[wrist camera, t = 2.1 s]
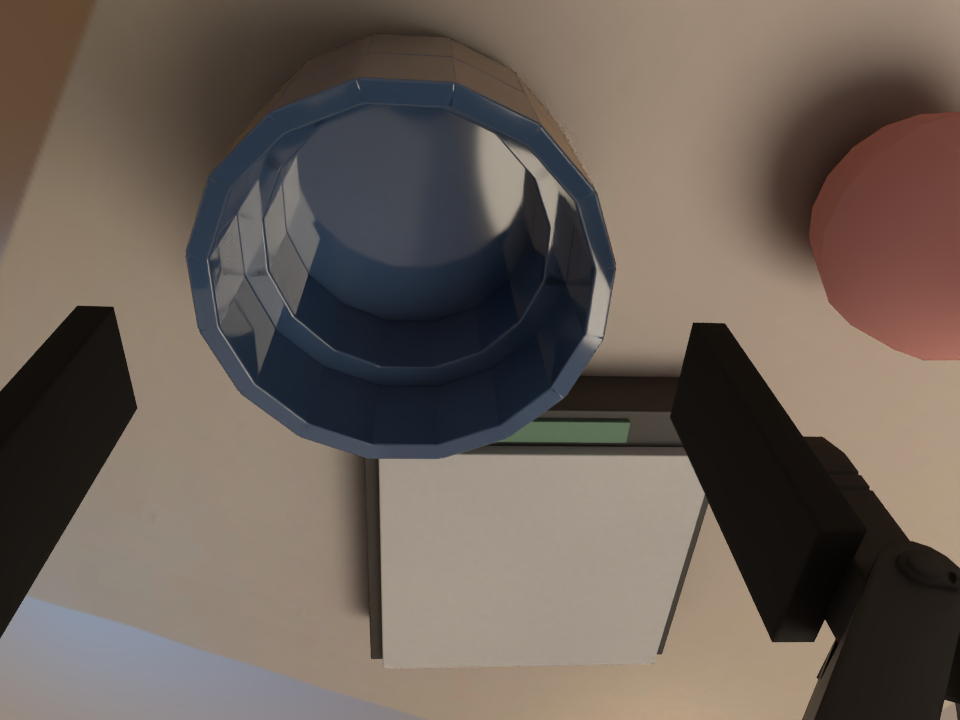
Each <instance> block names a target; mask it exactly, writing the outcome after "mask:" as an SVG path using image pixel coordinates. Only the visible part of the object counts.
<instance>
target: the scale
mask: <svg viewBox="0 0 960 720" xmlns="http://www.w3.org/2000/svg"><path fill="white" fill-rule="evenodd" d="M678 382H679V378H634V377H579V378H578V379H577V381H576V382H575V384H574V385H573V387H572V388H571V390H570V391H569V393H568V394H567V396H566V397H564V398H563V399H562V400H561V401H559V402H558V403H557V404H555V405H554V406H552V407H551V408H550V409H548V410H547V411H545V412H544V413H543V414H541V415H540V416H539V417H537V418H536V419H534V420H533V421H532V422H530V423H529V424H528V425H526V426H525V427H523V428H522V429H521V430H519V431H518V432H517V433H515V434H514V435H512V436H511V437H508V438H507V439H504V440H501V441H498V442H495V443H492V444H488V445H485V446H482V447H479V448H475V449H472V450H469V451H466V452H462V453H459V454H456V455H453V456H449V457H446V458H440V459H370V458H368V459H367V458H364V467H365V497H366V526H367V556H368V585H369V615H370V644H371V659H383V668H384V669H391V668H449V667H507V666H565V665H623V664H654V661H655V658H656V655H657V654H662V652H663V649H664V646H665V642H666V639H667V636H668V633H669V629H670V626H671V623H672V620H673V616H674V613H675V610H676V607H677V603H678V600H679V597H680V594H681V590H682V587H683V584H684V581H685V577H686V574H687V571H688V568H689V564H690V561H691V558H692V555H693V551H694V548H695V545H696V542H697V538H698V535H699V532H700V529H701V525H702V522H703V519H704V516H705V512H706V509H707V506H708V503H709V502H708V500H707V498H706V496H705V493H704V491H703V489H702V487H701V485H700V482H699V480H698V478H697V476H696V474H695V471H694V469H693V467H692V465H691V463H690V460H689V458H688V456H687V454H686V452H685V450H684V447H683V445H682V443H681V441H680V439H679V436H678V434H677V432H676V430H675V428H674V425H673V423H672V421H671V419H670V415H671V411H672V407H673V403H674V398H675V394H676V390H677V386H678Z"/></svg>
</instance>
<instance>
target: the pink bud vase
mask: <svg viewBox="0 0 960 720" xmlns="http://www.w3.org/2000/svg"><path fill="white" fill-rule="evenodd" d="M809 240H810V244H811V247H812V250H813V253H814V257H815V260H816V263H817V267H818V270H819V273H820V276H821V279H822V282H823V285H824V288H825V292H826V295H827V298H828V301H829V303H830V304H831V305H832V306H833V307H834V308H835V309H836V310H837V311H838V312H839V313H840V314H841V315H842V316H843V317H844V318H845V319H846V320H847V321H848V322H849V324H850V325H852V326H854V327H856V328H857V329H859V330H861V331H863V332H864V333H866V334H868V335H870V336H871V337H873V338H875V339H877V340H878V341H880V342H882V343H884V344H885V345H887V346H889V347H891V348H892V349H894V350H897V351H900V352H902V353H905V354H908V355H911V356H913V357H916V358H919V359H921V360H960V112H945V113H930V114H919V115H916V116H913V117H910V118H907V119H904V120H901V121H898V122H895V123H892V124H889V125H886V126H884V127H882V128H881V129H879V130H878V131H876V132H875V133H873V134H872V135H870V136H869V137H867V138H866V139H864V140H863V141H861V142H860V143H859V144H857V145H856V146H854V147H853V148H852V149H851V150H850V151H849V152H848V153H847V154H846V156H845V157H844V158H843V159H842V160H841V161H840V162H839V164H838V165H837V166H836V167H835V168H834V169H833V170H832V172H831V173H830V174H829V175H828V176H827V178H826V180H825V182H824V184H823V187H822V189H821V191H820V193H819V195H818V197H817V199H816V202H815V204H814V206H813V208H812V216H811V225H810V234H809Z"/></svg>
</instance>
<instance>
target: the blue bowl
mask: <svg viewBox="0 0 960 720" xmlns="http://www.w3.org/2000/svg"><path fill="white" fill-rule="evenodd" d="M186 262H187V267H188V273H189V279H190V285H191V291H192V297H193V302H194V308H195V314H196V320H197V326H198V329H199V331H200V333H201V335H202V336H203V338H204V339H205V341H206V343H207V344H208V346H209V347H210V349H211V350H212V352H213V353H214V355H215V356H216V358H217V359H218V361H219V362H220V364H221V365H222V367H223V368H224V370H225V371H226V373H227V374H228V376H229V378H230V379H231V381H232V382H233V384H234V385H235V387H236V388H237V390H238V391H239V392H240V393H241V394H242V395H243V396H244V397H246V398H247V399H248V400H250V401H251V402H253V403H254V404H255V405H257V406H258V407H259V408H261V409H262V410H264V411H265V412H266V413H268V414H269V415H270V416H272V417H273V418H274V419H276V420H277V421H279V422H280V423H281V424H283V425H284V426H285V427H287V428H288V429H290V430H291V431H292V432H294V433H295V434H296V435H298V436H300V437H302V438H305V439H308V440H311V441H314V442H317V443H320V444H324V445H327V446H330V447H333V448H336V449H339V450H342V451H345V452H349V453H352V454H355V455H358V456H361V457H364V458H367V459H368V458H370V459H440V458H446V457H449V456H453V455H456V454H459V453H462V452H466V451H469V450H472V449H475V448H479V447H482V446H485V445H488V444H492V443H495V442H498V441H501V440H504V439H507V438H508V437H511V436H512V435H514V434H515V433H517V432H518V431H519V430H521V429H522V428H523V427H525V426H526V425H528V424H529V423H530V422H532V421H533V420H534V419H536V418H537V417H539V416H540V415H541V414H543V413H544V412H545V411H547V410H548V409H550V408H551V407H552V406H554V405H555V404H557V403H558V402H559V401H561V400H562V399H563V398H564V397H566V396H567V394H568V393H569V391H570V390H571V388H572V387H573V385H574V384H575V382H576V381H577V379H578V378H579V376H580V374H581V373H582V371H583V370H584V368H585V367H586V365H587V364H588V362H589V361H590V359H591V358H592V356H593V355H594V353H595V352H596V350H597V349H598V347H599V345H600V344H601V342H602V341H603V337H604V335H605V329H606V323H607V318H608V312H609V306H610V301H611V295H612V289H613V283H614V278H615V272H616V262H615V258H614V254H613V251H612V247H611V243H610V239H609V236H608V232H607V228H606V224H605V221H604V217H603V213H602V209H601V206H600V202H599V198H598V194H597V192H596V190H595V188H594V186H593V184H592V183H591V181H590V179H589V177H588V176H587V174H586V172H585V170H584V169H583V167H582V165H581V164H580V162H579V160H578V158H577V157H576V155H575V153H574V151H573V149H572V148H571V146H570V144H569V142H568V141H567V139H566V137H565V136H564V134H563V132H562V130H561V129H560V127H559V125H558V123H557V122H556V121H555V120H554V119H553V117H552V116H551V115H550V114H549V113H548V111H547V110H546V109H545V108H544V106H543V105H542V104H541V103H540V102H539V100H538V99H537V98H536V97H535V95H534V94H533V93H532V92H531V91H530V89H529V88H528V87H527V86H526V84H525V83H524V82H523V81H522V80H521V78H520V77H519V76H518V75H517V73H516V72H513V70H511V69H509V68H507V67H505V66H503V65H501V64H499V63H498V62H496V61H494V60H492V59H490V58H488V57H486V56H484V55H482V54H480V53H478V52H476V51H474V50H472V49H470V48H468V47H466V46H464V45H462V44H460V43H458V42H456V41H454V40H452V39H449V38H445V37H427V36H409V35H390V34H375V35H370V36H368V37H365V38H363V39H360V40H358V41H355V42H353V43H350V44H348V45H345V46H342V47H340V48H337V49H335V50H332V51H330V52H327V53H325V54H322V55H320V56H317V57H315V58H312V59H309V60H308V61H307V62H305V63H304V64H303V65H302V66H301V67H300V68H299V70H298V71H297V72H296V73H295V74H294V75H293V76H292V77H291V78H290V79H289V80H288V81H287V82H286V83H285V84H284V86H283V87H282V88H281V89H280V90H279V91H278V92H277V93H276V94H275V95H274V96H273V97H272V98H271V99H270V101H269V102H268V103H267V104H266V105H265V106H264V107H263V108H262V109H261V110H260V111H259V113H258V114H257V115H256V116H255V118H254V119H253V120H252V121H251V123H250V124H249V125H248V126H247V128H246V129H245V130H244V131H243V133H242V134H241V135H240V136H239V138H238V139H237V140H236V141H235V143H234V144H233V145H232V146H231V148H230V149H229V150H228V151H227V153H226V154H225V155H224V156H223V158H222V159H221V160H220V161H219V163H218V164H217V165H216V166H215V168H214V169H213V170H212V171H211V173H210V175H209V177H208V178H207V181H206V184H205V187H204V191H203V194H202V198H201V201H200V204H199V208H198V211H197V215H196V218H195V221H194V225H193V228H192V232H191V235H190V238H189V242H188V245H187V248H186Z"/></svg>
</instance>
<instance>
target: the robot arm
mask: <svg viewBox="0 0 960 720" xmlns="http://www.w3.org/2000/svg"><path fill="white" fill-rule="evenodd" d="M136 410H137V405H136V401H135V396H134V392H133V388H132V384H131V379H130V375H129V371H128V367H127V362H126V358H125V354H124V350H123V346H122V341H121V337H120V333H119V329H118V324H117V320H116V316H115V312H114V307H101V306H77V307H76V308H75V309H74V310H73V311H72V312H71V313H70V315H69V316H68V317H67V318H66V319H65V320H64V321H63V322H62V323H61V325H60V326H59V327H58V328H57V329H56V330H55V331H54V332H53V333H52V335H51V336H50V337H49V338H48V339H47V340H46V341H45V342H44V344H43V345H42V346H41V347H40V348H39V349H38V350H37V351H36V352H35V354H34V355H33V356H32V357H31V358H30V359H29V360H28V361H27V362H26V364H25V365H24V366H23V367H22V368H21V369H20V370H19V371H18V372H17V374H16V375H15V376H14V377H13V378H12V379H11V380H10V381H9V382H8V384H7V385H6V386H5V387H4V388H3V389H2V390H1V391H0V638H1V636H2V635H3V633H4V631H5V629H6V628H7V626H8V624H9V622H10V621H11V619H12V618H13V616H14V614H15V613H16V611H17V609H18V608H19V606H20V604H21V603H22V601H23V599H24V598H25V596H26V594H27V593H28V591H29V589H30V588H31V586H32V584H33V582H34V581H35V579H36V577H37V576H38V574H39V572H40V571H41V569H42V567H43V566H44V564H45V562H46V561H47V559H48V557H49V556H50V554H51V552H52V551H53V549H54V547H55V546H56V544H57V542H58V541H59V539H60V537H61V535H62V534H63V532H64V530H65V529H66V527H67V525H68V524H69V522H70V520H71V519H72V517H73V515H74V514H75V512H76V510H77V509H78V507H79V505H80V504H81V502H82V500H83V499H84V497H85V495H86V494H87V492H88V490H89V488H90V487H91V485H92V483H93V482H94V480H95V478H96V477H97V475H98V473H99V472H100V470H101V468H102V467H103V465H104V463H105V462H106V460H107V458H108V457H109V455H110V453H111V452H112V450H113V448H114V446H115V445H116V443H117V441H118V440H119V438H120V436H121V435H122V433H123V431H124V430H125V428H126V426H127V425H128V423H129V421H130V420H131V418H132V416H133V415H134V413H135V411H136ZM670 419H671V421H672V423H673V425H674V428H675V430H676V432H677V434H678V436H679V439H680V441H681V443H682V445H683V447H684V450H685V452H686V454H687V456H688V458H689V460H690V463H691V465H692V467H693V469H694V471H695V474H696V476H697V478H698V480H699V482H700V485H701V487H702V489H703V491H704V493H705V496H706V498H707V500H708V502H709V504H710V507H711V509H712V511H713V513H714V515H715V517H716V520H717V522H718V524H719V526H720V528H721V531H722V533H723V535H724V537H725V539H726V542H727V544H728V546H729V548H730V550H731V553H732V555H733V557H734V559H735V561H736V563H737V566H738V568H739V570H740V572H741V574H742V577H743V579H744V581H745V583H746V585H747V588H748V590H749V592H750V594H751V596H752V599H753V601H754V603H755V605H756V607H757V610H758V612H759V614H760V616H761V618H762V620H763V623H764V625H765V627H766V629H767V631H768V634H769V636H770V638H771V640H772V642H814V641H815V639H816V637H817V635H818V633H819V630H820V628H821V626H822V624H823V622H824V620H826V622H827V624H828V625H829V627H830V629H831V631H832V633H833V635H834V636H835V638H836V639H835V641H834V643H833V645H832V647H831V649H830V651H829V653H828V655H827V657H826V660H825V662H824V664H823V666H822V668H821V670H820V672H819V674H818V676H817V678H818V681H817V684H816V686H815V689H814V691H813V694H812V696H811V699H810V701H809V704H808V706H807V709H806V711H805V714H804V716H803V719H802V720H940V716H941V712H942V708H943V703H944V700H948V701H951V702H955V704H956V711H957V718H958V720H960V568H959V567H958V566H957V565H956V564H954V563H953V562H952V561H951V560H950V559H949V558H948V557H946V556H945V555H943V554H941V553H940V552H938V551H936V550H934V549H932V548H931V547H928V546H925V545H922V544H919V543H916V542H913V541H910V540H909V539H908V538H907V536H906V535H905V534H904V532H903V531H902V530H901V528H900V527H899V526H898V524H897V523H896V522H895V520H894V519H893V518H892V516H891V515H890V514H889V512H888V511H887V510H886V508H885V507H884V506H883V504H882V503H881V502H880V500H879V499H878V497H877V496H876V495H875V493H874V492H873V491H870V490H869V485H868V484H867V483H866V481H865V480H864V479H863V477H862V476H861V475H858V471H857V469H856V468H855V467H854V465H853V464H852V463H851V461H850V460H849V459H848V457H847V456H846V455H845V453H843V452H842V451H841V450H839V449H838V448H837V447H835V446H834V445H833V444H831V443H830V442H829V441H827V440H826V439H825V438H823V437H803V436H802V434H801V433H800V432H799V430H798V429H797V427H796V426H795V424H794V423H793V421H792V420H791V419H790V417H789V416H788V414H787V413H786V411H785V410H784V408H783V407H782V406H781V404H780V403H779V401H778V400H777V398H776V397H775V395H774V394H773V392H772V391H771V390H770V388H769V387H768V385H767V384H766V382H765V381H764V379H763V378H762V377H761V375H760V374H759V372H758V371H757V369H756V368H755V366H754V365H753V364H752V362H751V361H750V359H749V358H748V356H747V355H746V353H745V352H744V351H743V349H742V348H741V346H740V345H739V343H738V342H737V340H736V339H735V337H734V336H733V335H732V333H731V332H730V330H729V329H728V327H727V326H726V324H724V323H693V325H692V329H691V333H690V337H689V341H688V345H687V350H686V354H685V358H684V362H683V366H682V370H681V374H680V378H679V382H678V386H677V390H676V394H675V398H674V403H673V407H672V411H671V415H670Z"/></svg>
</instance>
